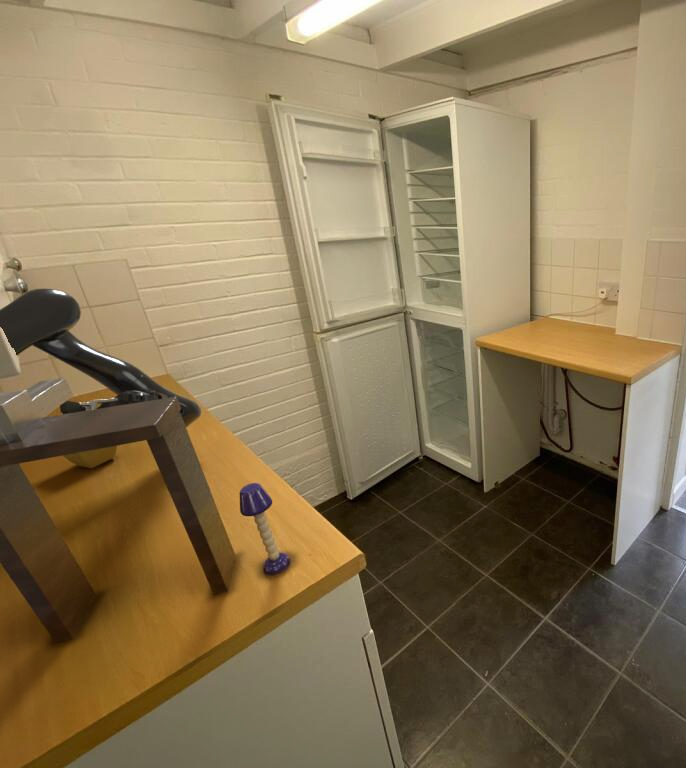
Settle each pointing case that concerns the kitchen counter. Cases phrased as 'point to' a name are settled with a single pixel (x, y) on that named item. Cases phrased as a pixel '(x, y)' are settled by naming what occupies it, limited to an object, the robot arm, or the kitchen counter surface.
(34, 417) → the silver stand
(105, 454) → the flower pot
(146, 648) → the kitchen counter surface
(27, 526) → the dark brown arch frame
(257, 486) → the toy lamp
